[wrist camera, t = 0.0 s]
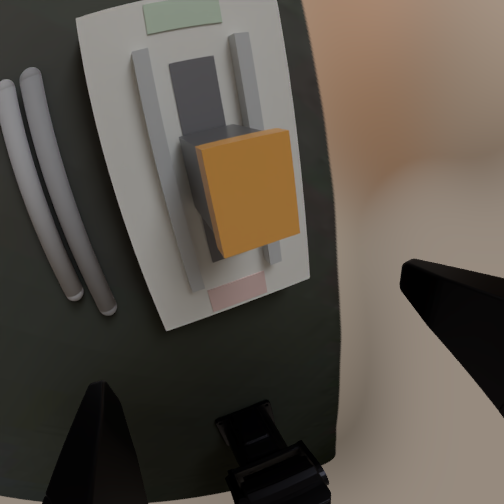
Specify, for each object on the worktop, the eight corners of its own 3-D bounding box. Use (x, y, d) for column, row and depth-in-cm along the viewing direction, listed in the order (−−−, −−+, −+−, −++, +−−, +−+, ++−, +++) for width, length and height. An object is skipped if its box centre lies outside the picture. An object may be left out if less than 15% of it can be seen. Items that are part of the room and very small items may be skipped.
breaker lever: (248, 193, 19) (300, 233, 14) (192, 210, 18) (224, 258, 13) (235, 119, 17) (289, 130, 12) (174, 134, 16) (201, 149, 11)
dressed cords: (119, 304, 22) (120, 316, 21) (81, 317, 21) (81, 329, 20) (41, 64, 13) (36, 62, 12) (-3, 85, 13) (-11, 85, 12)
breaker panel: (290, 259, 26) (316, 284, 23) (159, 306, 24) (169, 340, 20) (254, 0, 16) (282, -17, 13) (82, 30, 14) (73, 13, 10)
